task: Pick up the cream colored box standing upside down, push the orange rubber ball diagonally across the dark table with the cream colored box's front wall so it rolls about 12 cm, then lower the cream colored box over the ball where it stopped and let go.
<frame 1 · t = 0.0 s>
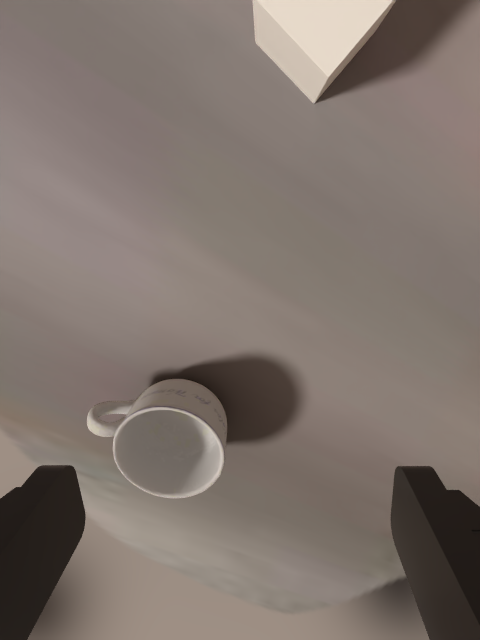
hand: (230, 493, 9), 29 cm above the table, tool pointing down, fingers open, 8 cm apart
cream colored box: (314, 37, 31), on the table
teacup: (172, 403, 43), on the table
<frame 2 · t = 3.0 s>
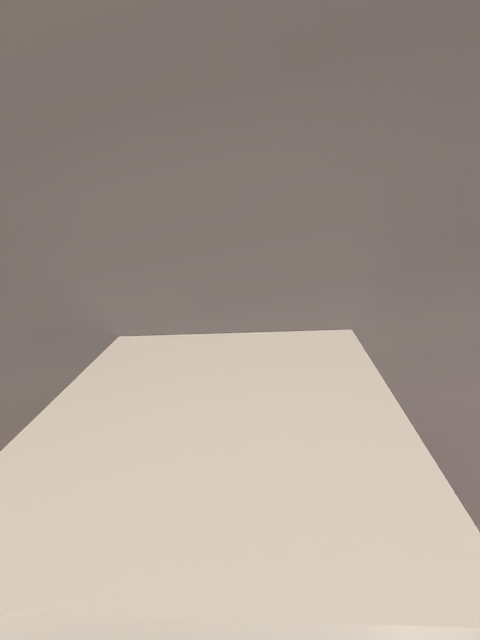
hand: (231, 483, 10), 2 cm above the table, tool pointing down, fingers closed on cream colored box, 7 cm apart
cream colored box: (239, 433, 12), on the table, touching gripper
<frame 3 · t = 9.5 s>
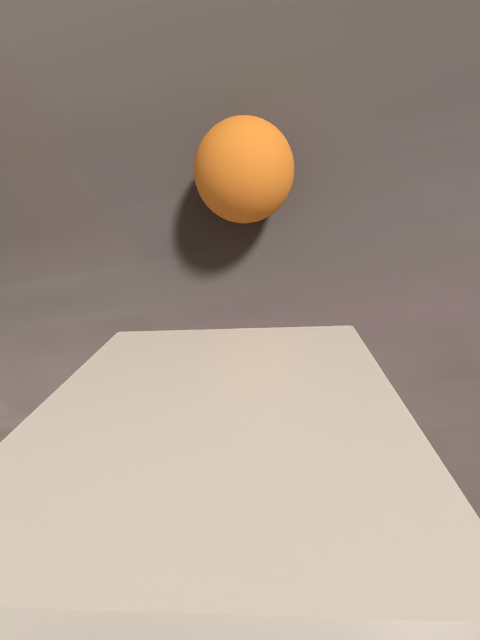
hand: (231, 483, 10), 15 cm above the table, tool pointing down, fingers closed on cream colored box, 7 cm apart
cream colored box: (238, 429, 12), point 13 cm above the table, touching gripper
ball: (244, 171, 19), on the table
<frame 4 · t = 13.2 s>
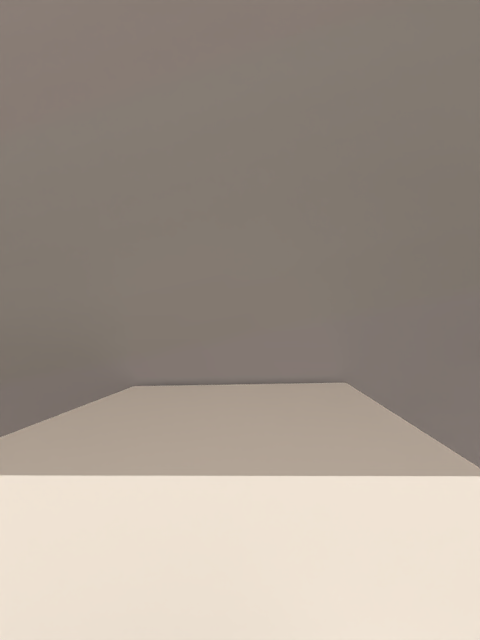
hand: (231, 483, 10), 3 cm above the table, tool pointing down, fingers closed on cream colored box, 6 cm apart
cream colored box: (240, 492, 12), point 1 cm above the table, tilted 21°, touching ball, gripper
when the fingers open (3 cm above the table, at t = 13.5 s): cream colored box drops 1 cm, on the table.
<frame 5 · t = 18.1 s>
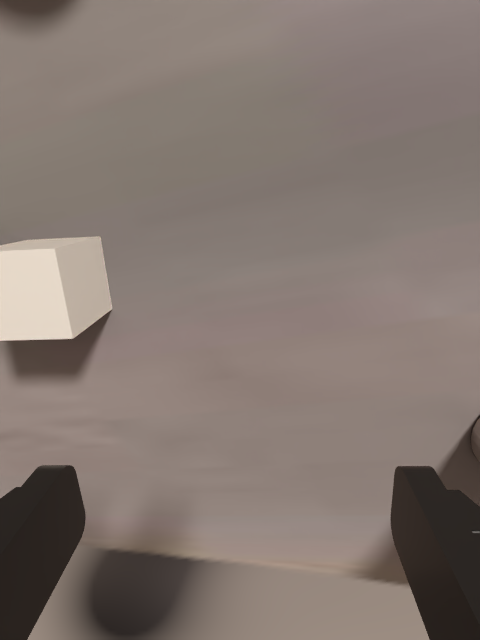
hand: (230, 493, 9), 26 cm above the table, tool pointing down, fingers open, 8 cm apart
cream colored box: (71, 275, 35), on the table
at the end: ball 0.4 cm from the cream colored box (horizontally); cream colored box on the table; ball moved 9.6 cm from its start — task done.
